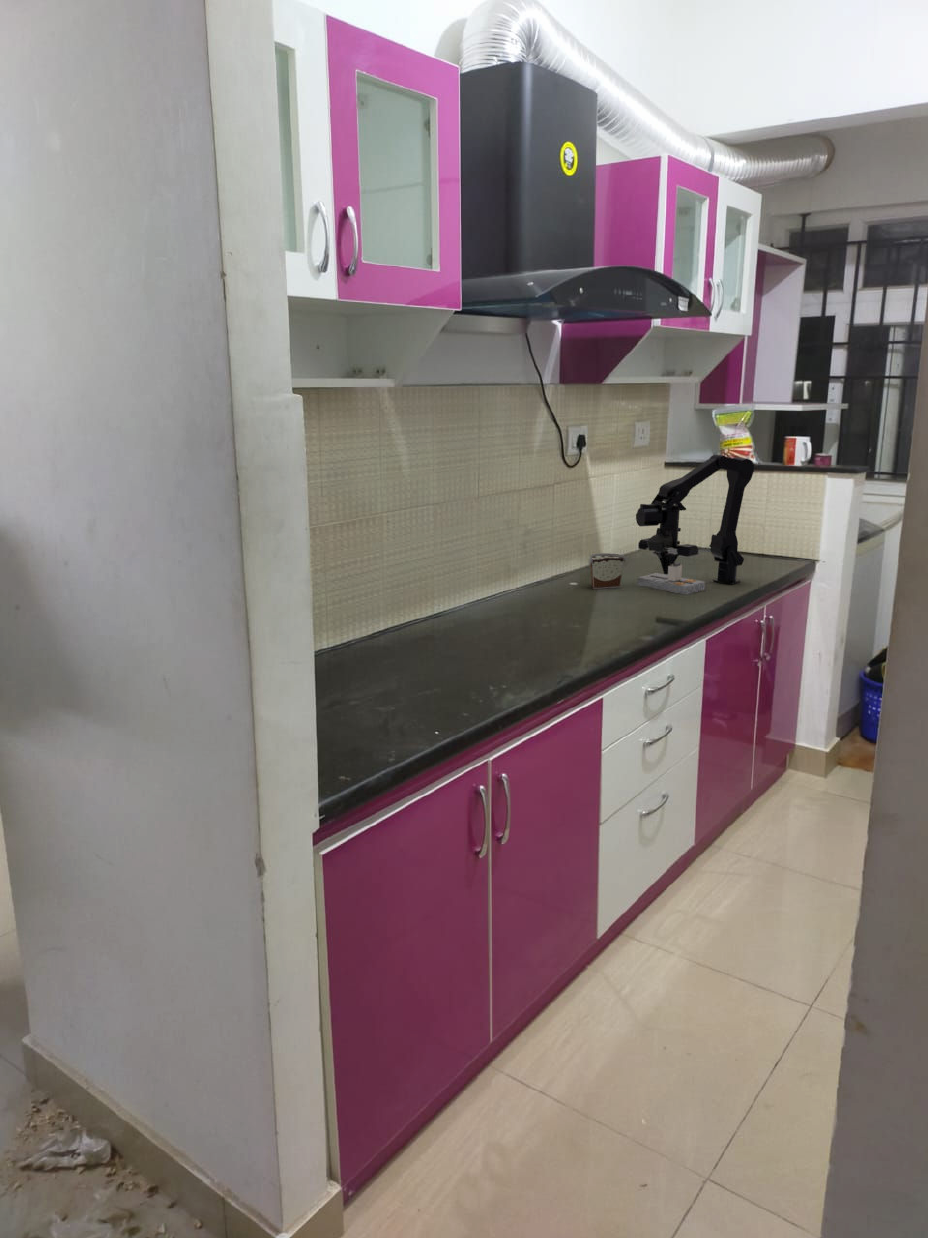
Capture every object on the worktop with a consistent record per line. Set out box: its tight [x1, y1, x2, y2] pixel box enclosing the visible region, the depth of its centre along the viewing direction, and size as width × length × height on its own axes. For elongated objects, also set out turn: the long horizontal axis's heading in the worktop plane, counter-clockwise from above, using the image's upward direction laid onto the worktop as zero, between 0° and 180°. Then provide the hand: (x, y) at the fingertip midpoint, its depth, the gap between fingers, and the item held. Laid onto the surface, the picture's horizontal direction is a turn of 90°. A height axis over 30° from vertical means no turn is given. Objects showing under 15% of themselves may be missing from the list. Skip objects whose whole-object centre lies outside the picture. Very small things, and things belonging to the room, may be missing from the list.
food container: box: [588, 552, 627, 590], centre depth 289 cm, size 12×6×10 cm, turn 109°
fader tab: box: [667, 562, 683, 581], centre depth 286 cm, size 4×2×5 cm, turn 134°
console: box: [637, 572, 706, 596], centre depth 288 cm, size 10×18×3 cm, turn 44°
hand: (666, 574), depth 289 cm, fingers closed
